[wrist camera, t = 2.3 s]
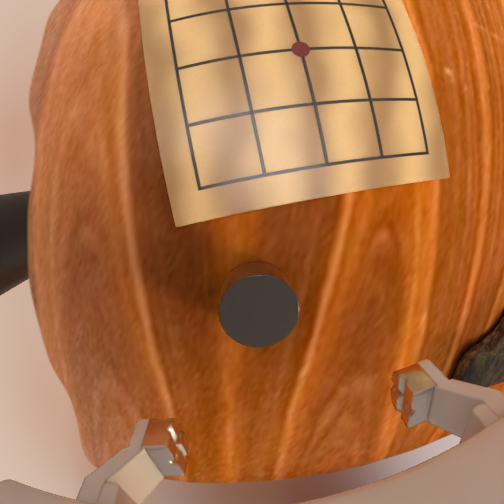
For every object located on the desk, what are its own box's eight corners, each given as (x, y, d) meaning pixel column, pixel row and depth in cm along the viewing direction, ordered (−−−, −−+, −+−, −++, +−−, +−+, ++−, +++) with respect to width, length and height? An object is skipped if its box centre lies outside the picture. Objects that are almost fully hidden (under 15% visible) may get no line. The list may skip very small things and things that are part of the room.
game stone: (229, 332, 22) (229, 354, 19) (213, 269, 21) (209, 283, 18) (295, 318, 22) (304, 338, 19) (284, 254, 21) (293, 266, 18)
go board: (179, 224, 20) (175, 227, 18) (140, -15, 15) (135, -25, 13) (438, 177, 20) (450, 177, 18) (375, -32, 15) (382, -40, 14)
